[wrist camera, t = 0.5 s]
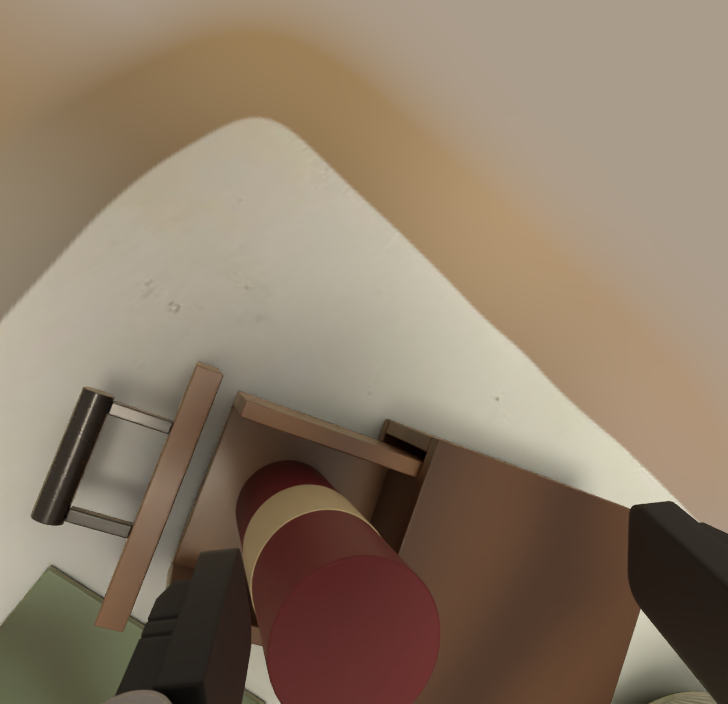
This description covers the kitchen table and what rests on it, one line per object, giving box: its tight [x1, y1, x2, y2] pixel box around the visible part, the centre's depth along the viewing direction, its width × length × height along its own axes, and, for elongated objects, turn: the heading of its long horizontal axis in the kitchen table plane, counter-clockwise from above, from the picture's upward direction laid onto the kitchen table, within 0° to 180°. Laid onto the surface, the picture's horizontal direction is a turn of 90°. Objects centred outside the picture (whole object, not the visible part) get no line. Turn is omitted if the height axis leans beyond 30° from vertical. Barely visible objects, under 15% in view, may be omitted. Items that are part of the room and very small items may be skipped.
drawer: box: [31, 362, 424, 646], centre depth 29 cm, size 17×11×6 cm
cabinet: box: [379, 419, 641, 704], centre depth 33 cm, size 14×13×8 cm
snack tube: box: [236, 460, 441, 704], centre depth 24 cm, size 5×5×15 cm
